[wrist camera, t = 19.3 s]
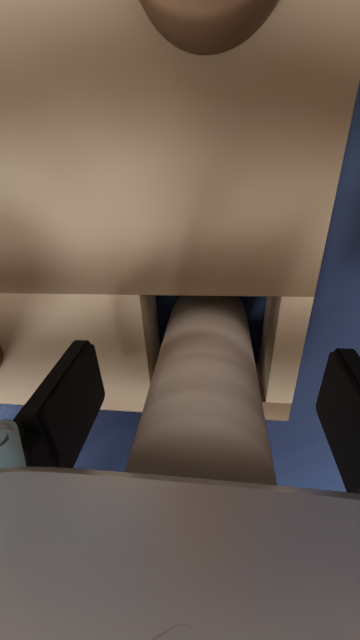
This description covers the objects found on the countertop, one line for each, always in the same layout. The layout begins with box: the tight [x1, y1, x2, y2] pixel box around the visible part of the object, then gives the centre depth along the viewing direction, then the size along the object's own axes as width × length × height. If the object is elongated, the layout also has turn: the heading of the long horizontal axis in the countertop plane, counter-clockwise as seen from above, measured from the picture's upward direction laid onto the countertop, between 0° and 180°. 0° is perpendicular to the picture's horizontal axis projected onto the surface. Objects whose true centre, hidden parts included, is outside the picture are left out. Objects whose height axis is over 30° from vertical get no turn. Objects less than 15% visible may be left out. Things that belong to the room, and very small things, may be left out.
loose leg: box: [126, 295, 277, 485], centre depth 12 cm, size 4×4×9 cm
